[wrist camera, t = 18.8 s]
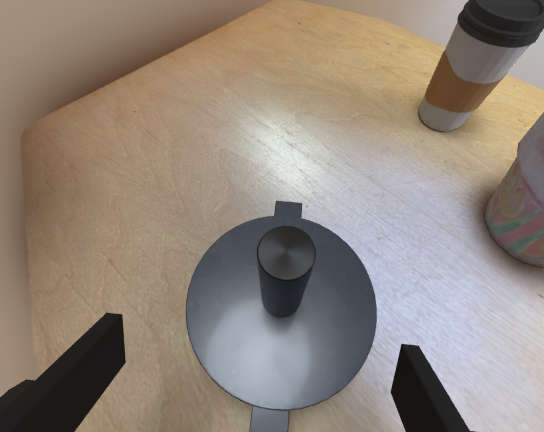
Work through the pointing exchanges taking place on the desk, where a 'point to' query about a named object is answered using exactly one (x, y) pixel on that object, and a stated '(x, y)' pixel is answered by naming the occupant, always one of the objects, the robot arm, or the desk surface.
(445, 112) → the coffee cup
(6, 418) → the robot arm
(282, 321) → the lid
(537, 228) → the potted plant
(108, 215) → the desk surface
